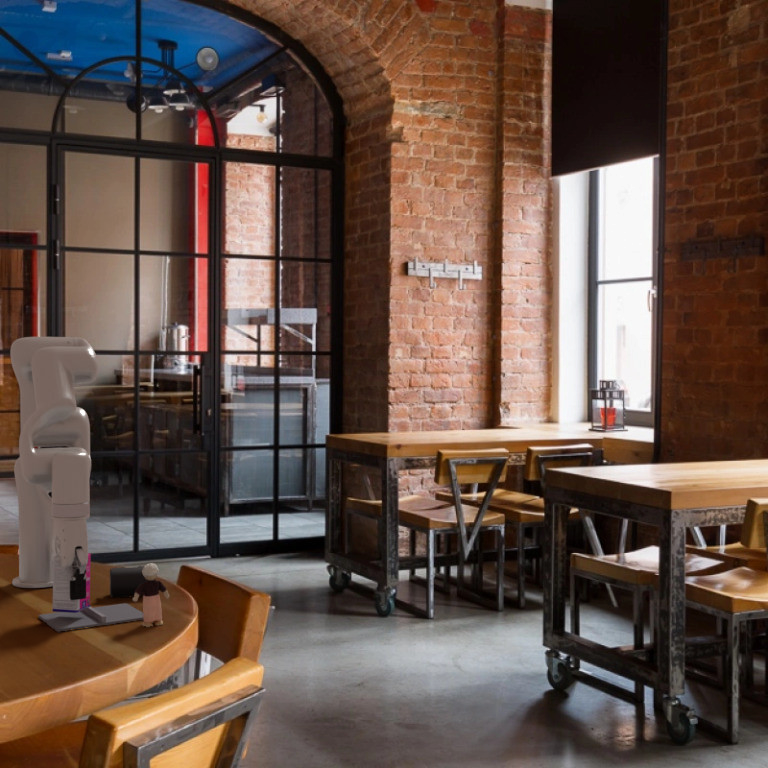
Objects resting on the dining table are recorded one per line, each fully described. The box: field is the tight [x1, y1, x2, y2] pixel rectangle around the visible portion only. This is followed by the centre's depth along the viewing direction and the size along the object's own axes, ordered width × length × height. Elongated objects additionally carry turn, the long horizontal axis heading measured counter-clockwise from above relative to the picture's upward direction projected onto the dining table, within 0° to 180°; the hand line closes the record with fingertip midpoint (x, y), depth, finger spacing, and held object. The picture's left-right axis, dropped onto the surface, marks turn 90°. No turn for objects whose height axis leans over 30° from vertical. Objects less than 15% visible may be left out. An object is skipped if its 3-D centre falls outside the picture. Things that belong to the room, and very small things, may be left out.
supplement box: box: [51, 552, 92, 613], centre depth 220 cm, size 6×6×12 cm
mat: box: [38, 602, 144, 633], centre depth 222 cm, size 14×19×2 cm
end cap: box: [109, 565, 157, 598], centre depth 243 cm, size 10×7×7 cm
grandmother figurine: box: [131, 563, 170, 628], centre depth 217 cm, size 8×4×13 cm, turn 135°
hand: (71, 594), depth 220 cm, fingers closed on supplement box, 8 cm apart
